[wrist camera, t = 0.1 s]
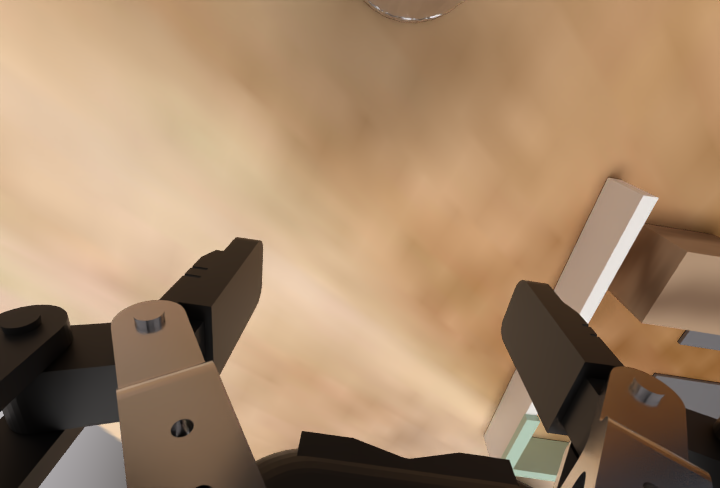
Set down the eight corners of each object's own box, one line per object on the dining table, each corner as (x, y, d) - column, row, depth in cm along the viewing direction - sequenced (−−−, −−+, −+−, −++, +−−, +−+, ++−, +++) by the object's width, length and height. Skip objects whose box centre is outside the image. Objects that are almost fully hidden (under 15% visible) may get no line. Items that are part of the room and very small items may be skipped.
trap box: (606, 177, 26) (648, 198, 22) (916, 228, 27) (1013, 258, 23) (482, 436, 40) (494, 478, 36) (691, 466, 41) (726, 511, 36)
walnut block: (638, 222, 28) (687, 251, 24) (712, 234, 28) (775, 266, 24) (603, 285, 31) (641, 323, 26) (671, 296, 31) (720, 335, 26)
